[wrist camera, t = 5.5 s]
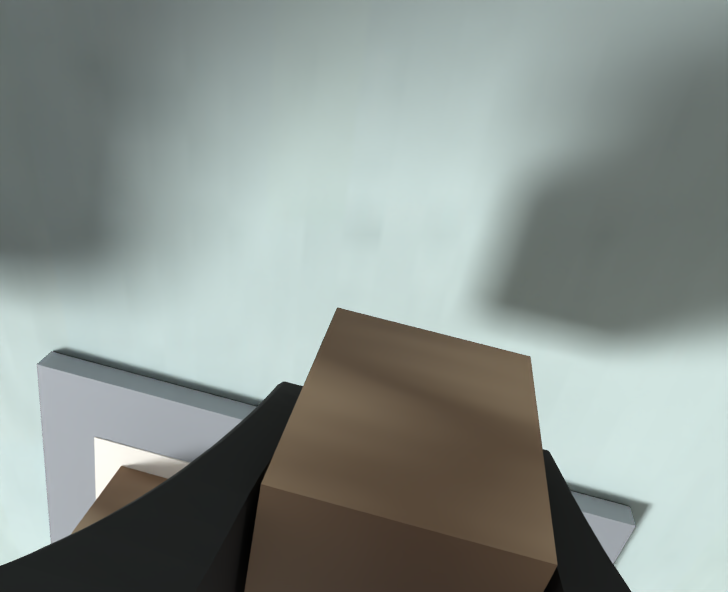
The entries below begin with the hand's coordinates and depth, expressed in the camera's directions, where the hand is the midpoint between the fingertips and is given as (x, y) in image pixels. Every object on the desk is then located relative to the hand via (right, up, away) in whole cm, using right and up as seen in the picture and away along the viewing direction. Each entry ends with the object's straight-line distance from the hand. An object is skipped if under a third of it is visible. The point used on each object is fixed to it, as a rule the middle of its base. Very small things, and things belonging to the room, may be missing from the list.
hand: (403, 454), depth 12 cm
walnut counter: (0, +1, +1) cm, 2 cm away
